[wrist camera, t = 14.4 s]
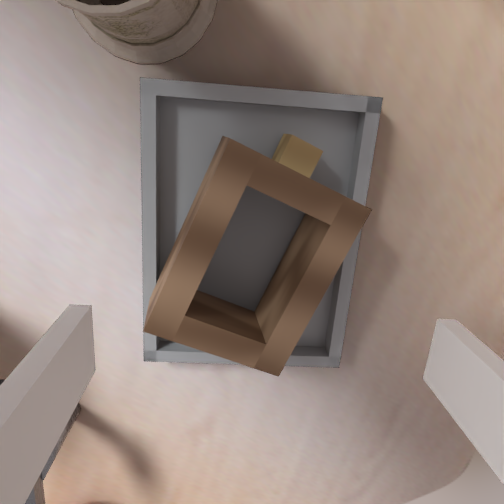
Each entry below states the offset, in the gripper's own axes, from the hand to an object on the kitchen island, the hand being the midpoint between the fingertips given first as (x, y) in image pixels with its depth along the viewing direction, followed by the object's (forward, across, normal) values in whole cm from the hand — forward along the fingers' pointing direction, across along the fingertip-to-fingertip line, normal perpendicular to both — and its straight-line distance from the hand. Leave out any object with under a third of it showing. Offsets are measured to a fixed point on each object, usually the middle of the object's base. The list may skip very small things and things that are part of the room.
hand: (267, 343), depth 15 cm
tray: (+17, 0, 0) cm, 17 cm away
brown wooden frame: (+15, 0, -1) cm, 15 cm away
